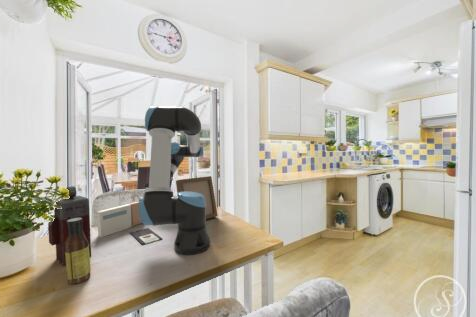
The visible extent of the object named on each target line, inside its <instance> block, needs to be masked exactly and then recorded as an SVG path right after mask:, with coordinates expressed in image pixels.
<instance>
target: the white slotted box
mask: <svg viewBox="0 0 476 317" xmlns="http://www.w3.org/2000/svg"><path fill="white" fill-rule="evenodd" d="M96 215H97V236H98V237H101V238H103V237H105V236H109V235H112V234H114V233H118V232H121V231H123V230H125V229H130V228H132V227H133V226H132V205H130V204H129V203H127V204H123V205H119V206H114V207H110V208H107V209H102V210H98V211H97V214H96Z"/></svg>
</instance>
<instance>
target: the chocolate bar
mask: <svg viewBox="0 0 476 317" xmlns="http://www.w3.org/2000/svg"><path fill="white" fill-rule="evenodd" d="M129 234H130V235H131V236H132V237H133V238H134V239H135V240H137V242H138V243H139V244H140V245H141V246H144V245H148V244H151V243H155V242H159V241H161V240H163V237H161V236H160V235H159V234H157V233H156V232H154V231H153V230H152V229H150V228H149V227H146V228H143V229H138V230H135V231H130V232H129Z"/></svg>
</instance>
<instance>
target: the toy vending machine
mask: <svg viewBox="0 0 476 317" xmlns="http://www.w3.org/2000/svg"><path fill="white" fill-rule="evenodd" d="M66 189H68V190H69V196H70V198H69V199H62V200H60V201H58V202H56V204H57V205H58V206H61V207H62V209H57V208H55V210H53V212H54V213H53V215H52V216H54V217H55V219H54V221H53V222H49V221H48V224H47V228H48V243H49V244H50V245H51V246H55V254H56V257H55V258H56V260H57V261H58V262H59V264H61V266H63V267H66V259H65V241H66V239H67V237H68V226H67V220H69V219H73V218H82V220H83V222H82V229H83V232H84V234H85V236H86V238H87V240H88V244H89V255H90V258H91V257H92V244H91V243H92V242H91V220H90V218H91V216H90V200H89V197H88V198H87V197H85V196H82V195H77V188H76V186H74V185H72V186H67V187H66ZM66 189H65V190H66Z"/></svg>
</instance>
